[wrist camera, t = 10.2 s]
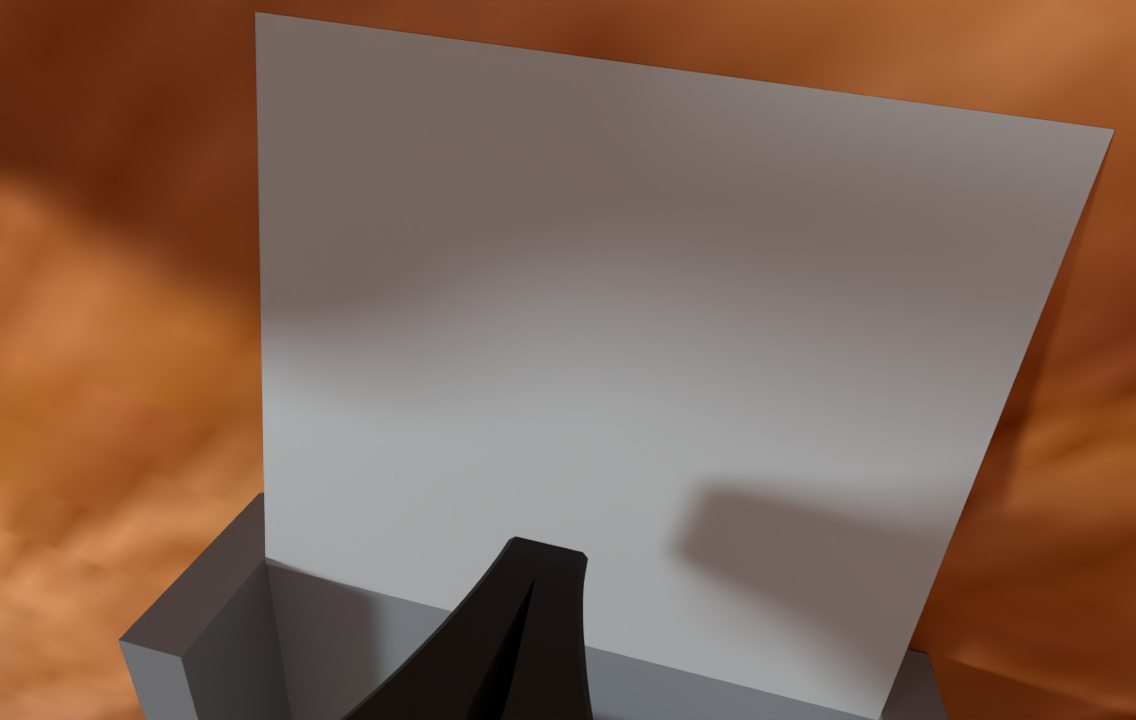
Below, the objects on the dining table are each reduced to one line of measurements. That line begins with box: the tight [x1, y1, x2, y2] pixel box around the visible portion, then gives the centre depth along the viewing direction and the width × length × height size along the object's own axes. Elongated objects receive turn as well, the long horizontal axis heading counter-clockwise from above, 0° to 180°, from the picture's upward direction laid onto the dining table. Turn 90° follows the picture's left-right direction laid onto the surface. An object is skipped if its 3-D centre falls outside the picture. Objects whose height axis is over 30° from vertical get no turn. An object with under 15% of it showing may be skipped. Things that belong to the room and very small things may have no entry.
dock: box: [119, 12, 1114, 720], centre depth 17 cm, size 18×29×6 cm, turn 173°
